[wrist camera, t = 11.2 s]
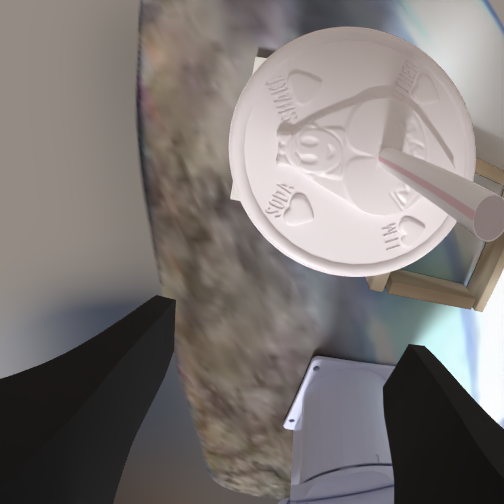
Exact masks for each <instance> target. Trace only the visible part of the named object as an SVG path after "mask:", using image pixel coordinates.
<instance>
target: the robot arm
mask: <svg viewBox="0 0 504 504" xmlns="http://www.w3.org/2000/svg"><path fill="white" fill-rule="evenodd" d="M175 307H176V300H174V299H170V298H166V297H162V296H158V295H156V296H154V297H153V298H151V299H150V300H148V301H147V302H146V303H144V304H142V305H141V306H140V307H138V308H137V309H136V310H134V311H132V312H131V313H130V314H128V315H127V316H125V317H124V318H122V319H121V320H119V321H118V322H116V323H115V324H114V325H112V326H110V327H109V328H107V329H106V330H104V331H103V332H101V333H100V334H98V335H96V336H95V337H93V338H91V339H90V340H88V341H86V342H84V343H83V344H81V345H79V346H78V347H76V348H74V349H72V350H70V351H69V352H67V353H65V354H63V355H61V356H59V357H56V358H54V359H52V360H50V361H48V362H46V363H43V364H41V365H38V366H36V367H33V368H30V369H28V370H25V371H22V372H20V373H17V374H14V375H12V376H8V377H5V378H2V379H0V504H113V502H114V498H115V494H116V491H117V488H118V484H119V481H120V478H121V474H122V471H123V469H124V465H125V463H126V460H127V457H128V454H129V451H130V448H131V445H132V443H133V441H134V438H135V436H136V434H137V432H138V430H139V428H140V426H141V423H142V422H143V419H144V417H145V415H146V413H147V411H148V409H149V407H150V405H151V403H152V401H153V399H154V397H155V395H156V393H157V391H158V389H159V387H160V385H161V383H162V381H163V379H164V377H165V374H166V371H167V369H168V366H169V363H170V360H171V357H172V354H173V352H174V332H175ZM315 366H319V367H315ZM284 428H286V429H291V430H294V436H293V455H292V471H291V483H292V486H291V495H290V498H285V499H282V500H281V501H280V502H279V503H278V504H504V429H503V428H502V427H501V426H500V425H499V424H498V423H496V422H495V421H494V420H493V419H492V418H491V417H490V416H489V415H488V414H487V413H486V412H485V411H484V410H483V409H482V408H481V406H480V405H479V404H478V403H477V402H476V401H475V400H474V399H473V398H472V397H471V396H470V395H469V394H468V392H467V391H466V390H465V389H464V388H463V387H462V386H461V385H460V383H459V382H458V381H457V380H456V379H455V378H454V377H453V375H452V374H451V373H450V372H449V371H448V370H447V369H446V368H445V366H444V365H443V364H442V363H441V362H440V361H439V360H438V359H437V358H436V357H435V356H434V355H433V354H432V353H431V352H430V351H429V350H428V349H427V348H426V347H425V346H420V345H412V344H409V345H408V347H407V348H406V350H405V352H404V353H403V355H402V357H401V358H400V360H399V362H398V363H397V365H396V366H389V365H380V364H372V363H364V362H357V361H350V360H343V359H336V358H330V357H324V356H315V357H314V358H313V359H312V360H311V363H310V365H309V368H308V370H307V372H306V375H305V377H304V379H303V382H302V384H301V386H300V388H299V391H298V393H297V395H296V397H295V400H294V402H293V404H292V406H291V408H290V411H289V413H288V415H287V417H286V419H285V421H284Z"/></svg>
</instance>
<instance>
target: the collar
mask: <svg viewBox="0 0 504 504" xmlns="http://www.w3.org/2000/svg"><path fill="white" fill-rule="evenodd" d="M475 173H477V174H479V175H481V176H484V177H486V178H488V179H490V180H492V181H495V182H497V183H499V184H501V185H503V186H504V171H503V170H501V169H499V168H497V167H495V166H493V165H491V164H489V163H486V162H484V161H482V160H480V159H478V158H476V166H475ZM502 197H503V198H504V192H503V195H502ZM503 268H504V231H503V233H502V234H501V235H500V236H499V237H498V238H497V239H495V240H493V241H490V242H486V244H485V247H484V249H483V252H482V254H481V256H480V259H479V261H478V264H477V266H476V268H475V271H474V273H473V275H472V277H471V279H470V282H469V284H468V286H467V288H466V286H465V285H464V284H460V283H456V282H452V281H448V280H443V279H439V278H435V277H431V276H426V275H422V274H418V273H413V272H409V271H405V270H400V269H398V270H395V271H392V272H388V273H385V274H380V275H374V276H365V278H366V280H367V283H368V286H369V288H370V290H374V291H379V292H383V290H384V287H386V289H387V292H388V294H393V295H398V296H403V297H408V298H414V299H419V300H424V301H429V302H434V303H439V304H444V305H449V306H454V307H460V308H465V309H470V310H471V308H473V309H474V310H475V311H481V312H483V310H484V308H485V306H486V304H487V302H488V300H489V298H490V296H491V294H492V292H493V290H494V288H495V286H496V284H497V282H498V279H499V277H500V275H501V273H502V271H503Z"/></svg>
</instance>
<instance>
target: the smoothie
mask: <svg viewBox="0 0 504 504" xmlns="http://www.w3.org/2000/svg"><path fill="white" fill-rule="evenodd" d="M229 161H230V167H231V174H232V178H233V182H234V185H235V188H236V191H237V194H238V197H239V199H240V201H241V203H242V205H243V207H244V209H245V211H246V213H247V214H248V216H249V218H250V219H251V221H252V222H253V224H254V225H255V226H256V228H257V229H258V230H259V231H260V232H261V234H262V235H263V236H264V237H265V238H266V239H267V240H268V241H269V242H270V243H271V244H272V245H273V246H275V247H276V248H277V249H278V250H280V251H281V252H282V253H284V254H285V255H286V256H288V257H290V258H291V259H293V260H294V261H296V262H298V263H300V264H302V265H304V266H306V267H309V268H312V269H314V270H317V271H320V272H324V273H327V274H332V275H337V276H347V277H365V276H374V275H380V274H385V273H388V272H392V271H395V270H398V269H400V268H403V267H405V266H407V265H409V264H411V263H413V262H415V261H417V260H418V259H420V258H421V257H423V256H425V255H426V254H427V253H429V252H430V251H431V250H432V249H434V248H435V247H436V246H437V245H438V244H439V243H440V242H441V241H442V240H443V239H444V238H445V237H446V236H447V235H448V233H449V232H450V231H451V229H452V228H453V227H454V225H455V224H456V222H457V221H458V222H459V223H460V224H461V225H463V226H464V227H465V228H466V229H468V230H469V231H470V232H471V233H473V234H474V235H475V236H476V237H478V238H479V239H480V240H482V241H485V242H490V241H493V240H495V239H497V238H498V237H499V236H500V235H501V234H502V233H503V231H504V198H503V197H502V196H500V195H498V194H496V193H494V192H493V191H491V190H489V189H487V188H485V187H483V186H481V185H479V184H476V183H474V182H473V180H474V175H475V166H476V146H475V136H474V131H473V126H472V122H471V119H470V116H469V113H468V110H467V108H466V105H465V103H464V101H463V99H462V97H461V95H460V93H459V91H458V89H457V88H456V86H455V85H454V83H453V82H452V80H451V79H450V78H449V76H448V75H447V74H446V73H445V71H444V70H443V69H442V68H441V67H440V66H439V65H438V64H437V63H436V62H435V61H434V60H433V59H432V58H431V57H429V56H428V55H427V54H426V53H424V52H423V51H422V50H420V49H419V48H417V47H416V46H414V45H413V44H411V43H409V42H407V41H405V40H403V39H401V38H399V37H397V36H394V35H392V34H389V33H386V32H383V31H379V30H375V29H370V28H363V27H333V28H326V29H322V30H318V31H314V32H311V33H308V34H305V35H303V36H300V37H298V38H296V39H294V40H292V41H290V42H289V43H287V44H285V45H284V46H282V47H280V48H279V49H278V50H277V51H275V52H274V53H273V54H271V55H270V56H269V57H268V58H267V59H266V60H265V61H264V62H263V63H262V64H261V65H260V66H259V67H258V69H257V70H256V71H255V72H254V73H253V75H252V76H251V78H250V79H249V81H248V82H247V84H246V85H245V87H244V89H243V91H242V93H241V95H240V97H239V100H238V102H237V105H236V108H235V110H234V114H233V118H232V122H231V128H230V135H229Z"/></svg>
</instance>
